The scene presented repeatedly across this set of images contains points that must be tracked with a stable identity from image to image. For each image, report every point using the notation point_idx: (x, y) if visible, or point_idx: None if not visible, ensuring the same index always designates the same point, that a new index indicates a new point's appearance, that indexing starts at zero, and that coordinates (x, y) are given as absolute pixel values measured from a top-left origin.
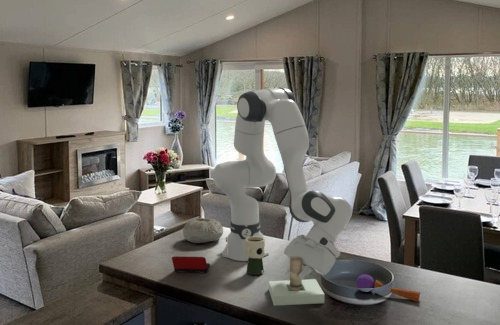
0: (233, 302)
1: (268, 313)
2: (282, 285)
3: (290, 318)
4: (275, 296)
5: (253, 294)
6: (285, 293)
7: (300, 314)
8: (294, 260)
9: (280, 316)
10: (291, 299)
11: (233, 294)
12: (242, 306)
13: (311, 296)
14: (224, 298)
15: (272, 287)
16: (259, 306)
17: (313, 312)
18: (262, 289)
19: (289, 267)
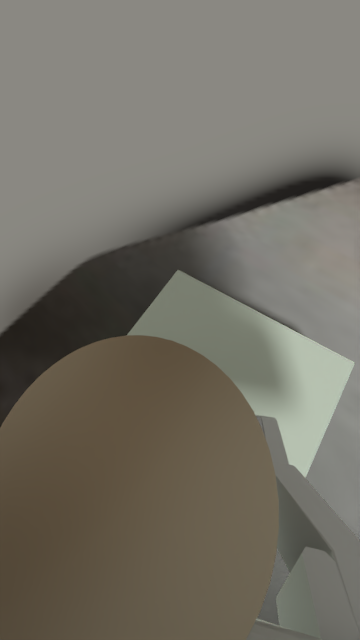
0: (288, 209)
1: (152, 247)
2: (254, 383)
3: (79, 276)
4: (174, 275)
5: (313, 290)
6: (165, 325)
7: (69, 318)
8: (75, 354)
9: (111, 262)
10: None
11: (353, 236)
12: (244, 215)
13: None
14: (334, 202)
15: (262, 322)
16: (210, 252)
17: (40, 364)
18: (344, 350)
19: (278, 447)
